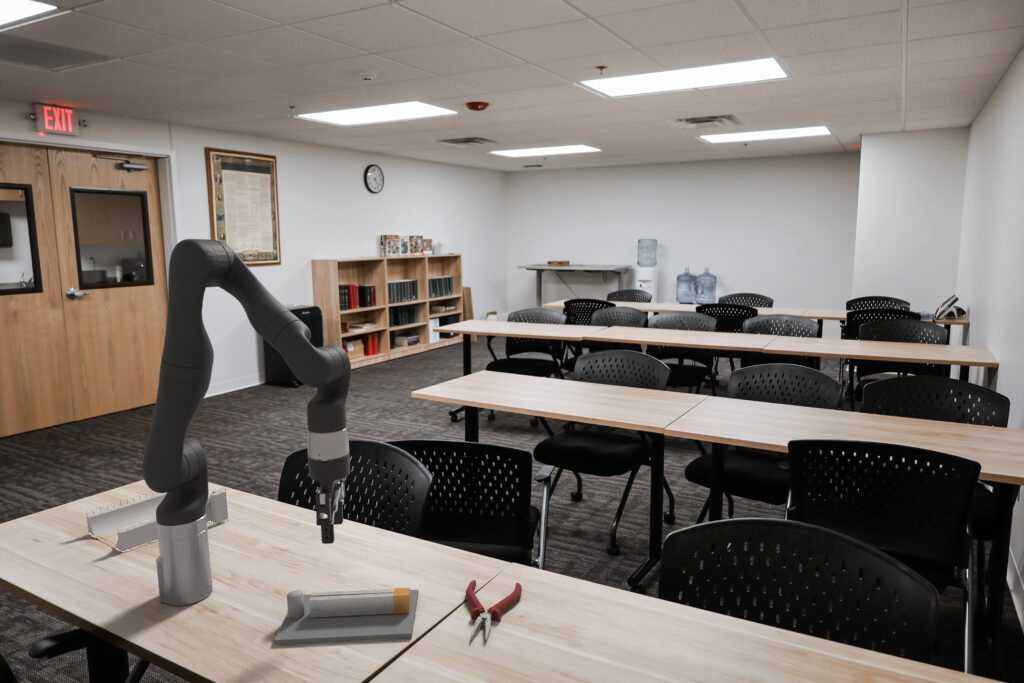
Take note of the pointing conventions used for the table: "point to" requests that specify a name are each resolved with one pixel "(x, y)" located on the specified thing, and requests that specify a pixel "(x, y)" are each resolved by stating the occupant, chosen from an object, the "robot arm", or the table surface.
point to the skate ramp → (146, 518)
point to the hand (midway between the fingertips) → (332, 533)
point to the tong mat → (341, 624)
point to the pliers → (493, 611)
